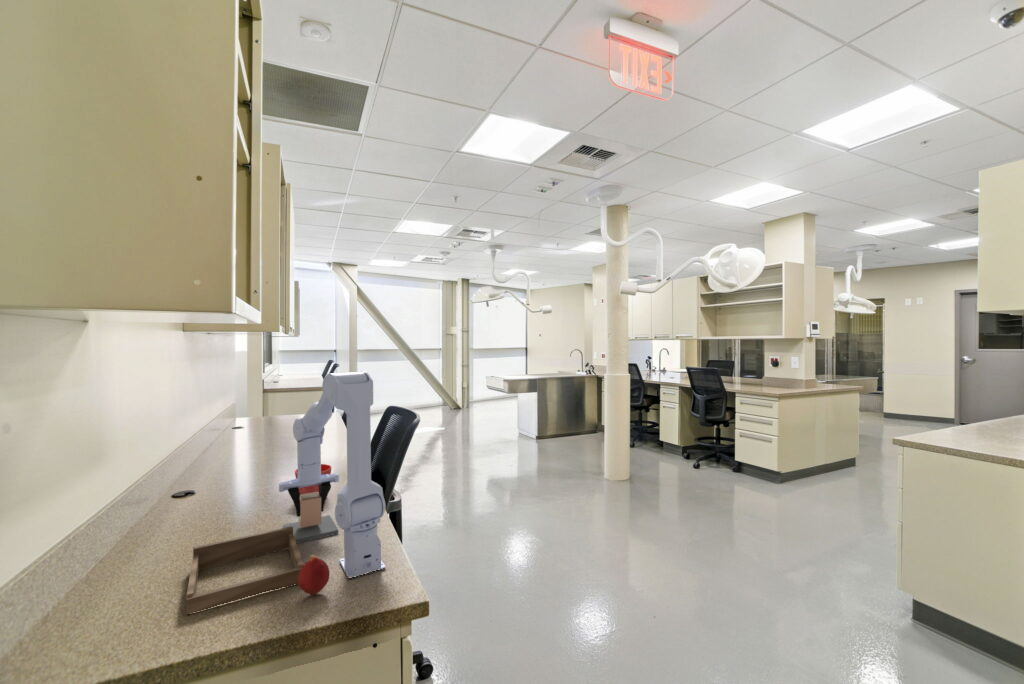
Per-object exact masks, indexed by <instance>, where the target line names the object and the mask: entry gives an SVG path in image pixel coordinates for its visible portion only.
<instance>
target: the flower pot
mask: <svg viewBox="0 0 1024 684" xmlns="http://www.w3.org/2000/svg"><path fill="white" fill-rule="evenodd" d="M326 474H332V465H330V464H326V463H321V475H326ZM294 475H295V479H298V468H296V469H295V471H294ZM298 489H299V492H300V495H301V494H307V493H313V492H318V493H319V485H313V486H308V487H302V488H298Z"/></svg>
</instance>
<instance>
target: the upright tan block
mask: <svg viewBox="0 0 1024 684" xmlns="http://www.w3.org/2000/svg"><path fill="white" fill-rule="evenodd" d="M321 517H322V512H321V496H320V494H319V493H318V492H313V493H307V494H301V495H300V516H299V517H298V522H299V524H300V527H301V528H303V527H308V526H313V525H317V524H321Z"/></svg>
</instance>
